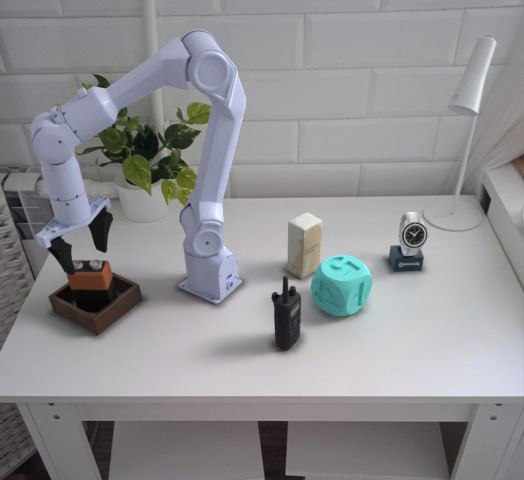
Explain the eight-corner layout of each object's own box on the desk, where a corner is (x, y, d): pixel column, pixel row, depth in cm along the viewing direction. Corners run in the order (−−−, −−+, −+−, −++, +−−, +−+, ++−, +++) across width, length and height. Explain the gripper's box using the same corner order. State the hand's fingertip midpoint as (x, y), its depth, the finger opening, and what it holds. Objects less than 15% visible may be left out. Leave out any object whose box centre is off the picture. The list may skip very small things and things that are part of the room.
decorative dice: (344, 323, 110) (347, 287, 105) (309, 304, 114) (310, 269, 109) (370, 301, 114) (375, 265, 109) (335, 283, 118) (338, 248, 113)
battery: (113, 314, 114) (102, 270, 107) (77, 313, 114) (63, 269, 107) (119, 298, 117) (108, 255, 110) (83, 298, 117) (70, 254, 110)
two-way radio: (287, 354, 105) (287, 284, 94) (265, 345, 107) (263, 275, 96) (303, 335, 108) (305, 265, 98) (281, 326, 110) (281, 257, 100)
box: (301, 279, 119) (302, 230, 112) (286, 269, 122) (286, 221, 114) (320, 268, 122) (323, 219, 114) (305, 258, 124) (307, 210, 116)
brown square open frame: (142, 300, 116) (139, 284, 114) (98, 335, 110) (93, 319, 107) (98, 279, 121) (94, 263, 118) (53, 312, 114) (47, 296, 112)
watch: (395, 278, 119) (402, 229, 111) (386, 253, 125) (393, 205, 117) (424, 276, 119) (433, 227, 111) (414, 251, 125) (423, 203, 117)
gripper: (82, 166, 105) (99, 234, 114) (13, 205, 96) (38, 275, 106) (113, 177, 102) (127, 246, 111) (44, 218, 93) (66, 289, 103)
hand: (86, 261), depth 108 cm, fingers open, 7 cm apart
